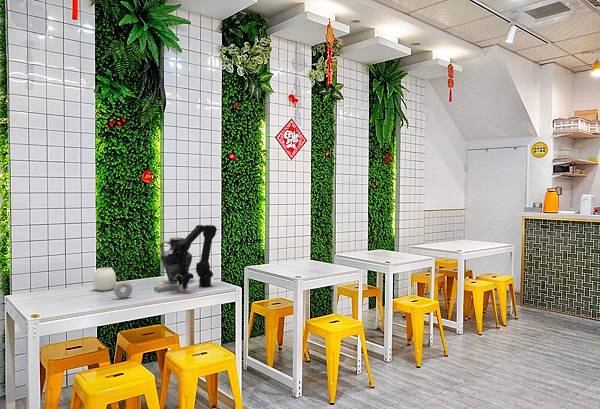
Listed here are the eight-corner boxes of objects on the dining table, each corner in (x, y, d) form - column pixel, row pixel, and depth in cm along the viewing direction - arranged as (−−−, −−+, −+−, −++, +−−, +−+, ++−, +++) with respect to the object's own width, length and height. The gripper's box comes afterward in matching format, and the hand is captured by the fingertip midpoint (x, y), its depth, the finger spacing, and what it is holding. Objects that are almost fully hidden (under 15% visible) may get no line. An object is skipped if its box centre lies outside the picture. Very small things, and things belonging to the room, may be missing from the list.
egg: (184, 290, 300) (184, 282, 300) (187, 291, 297) (187, 283, 297) (178, 291, 297) (178, 283, 297) (181, 292, 294) (180, 284, 294)
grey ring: (114, 300, 277) (114, 282, 276) (113, 298, 280) (113, 281, 279) (133, 297, 282) (132, 280, 281) (131, 296, 285) (131, 279, 284)
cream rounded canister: (97, 293, 296) (97, 270, 296) (90, 289, 306) (90, 268, 305) (119, 289, 305) (119, 268, 304) (111, 286, 315) (111, 265, 314)
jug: (189, 278, 339) (188, 235, 338) (195, 283, 321) (194, 238, 320) (158, 281, 331) (157, 237, 330) (162, 286, 313) (162, 240, 312)
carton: (183, 286, 312) (183, 277, 312) (187, 288, 307) (187, 279, 307) (154, 290, 300) (153, 281, 300) (158, 292, 295) (158, 283, 295)
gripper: (163, 262, 299) (164, 288, 300) (176, 266, 284) (176, 293, 285) (180, 260, 306) (181, 285, 306) (193, 264, 291) (194, 290, 292)
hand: (182, 288), depth 297 cm, fingers open, 4 cm apart
